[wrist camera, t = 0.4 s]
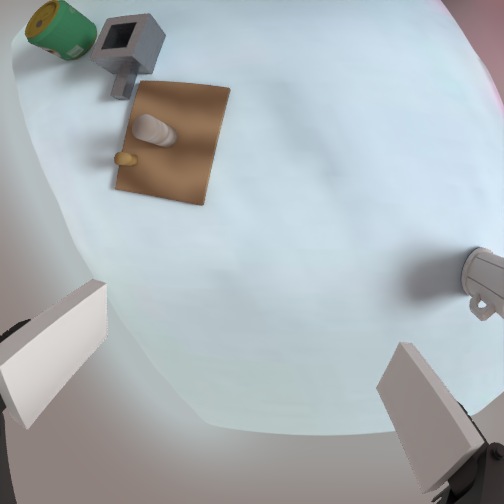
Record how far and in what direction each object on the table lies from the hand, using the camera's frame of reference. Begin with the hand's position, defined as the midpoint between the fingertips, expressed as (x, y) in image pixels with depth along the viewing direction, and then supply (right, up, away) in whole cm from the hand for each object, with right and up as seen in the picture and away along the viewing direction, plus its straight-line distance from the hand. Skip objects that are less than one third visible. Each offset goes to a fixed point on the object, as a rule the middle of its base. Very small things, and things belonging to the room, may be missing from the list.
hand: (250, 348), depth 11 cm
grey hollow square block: (-17, +31, +21) cm, 41 cm away
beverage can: (-29, +40, +19) cm, 53 cm away
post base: (-11, +19, +23) cm, 32 cm away
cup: (+39, 0, +26) cm, 47 cm away
